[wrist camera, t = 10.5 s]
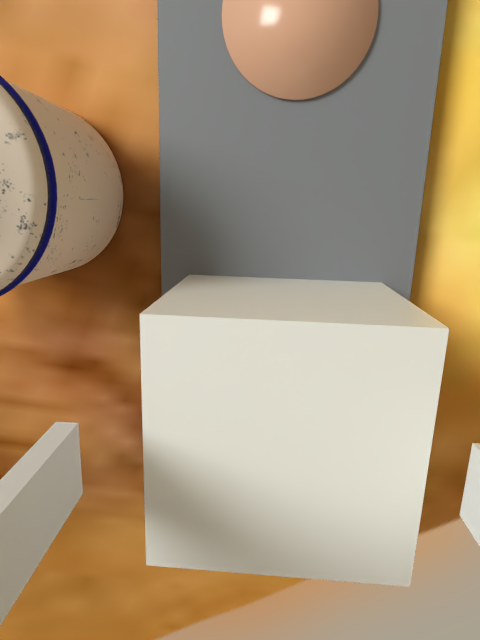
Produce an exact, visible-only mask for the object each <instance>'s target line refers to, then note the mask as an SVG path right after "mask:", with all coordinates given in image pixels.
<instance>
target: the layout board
mask: <svg viewBox="0 0 480 640" xmlns="http://www.w3.org/2000/svg"><path fill="white" fill-rule="evenodd" d="M447 3H448V0H158V71H159V145H160V218H161V291H162V296H163V295H164V294H165V293H167V292H168V291H169V290H170V289H172V288H173V287H174V286H176V285H177V284H178V283H179V282H181V281H182V280H183V279H184V278H186V277H187V276H188V275H209V276H233V277H258V278H282V279H307V280H331V281H356V282H380V283H383V284H385V285H386V286H388V287H389V288H391V289H392V290H394V291H395V292H396V293H398V294H399V295H401V296H402V297H404V298H405V299H407V300H408V301H410V294H411V286H412V279H413V271H414V263H415V255H416V247H417V239H418V231H419V223H420V216H421V208H422V200H423V192H424V184H425V176H426V168H427V160H428V153H429V145H430V137H431V129H432V121H433V113H434V105H435V97H436V89H437V82H438V74H439V66H440V58H441V50H442V42H443V34H444V26H445V19H446V11H447Z"/></svg>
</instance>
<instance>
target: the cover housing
mask: <svg viewBox="0 0 480 640" xmlns="http://www.w3.org/2000/svg"><path fill="white" fill-rule="evenodd" d="M448 334H449V328H448V327H446V326H445V325H443V324H442V323H441V322H439V321H438V320H436V319H435V318H433V317H432V316H430V315H429V314H427V313H426V312H424V311H423V310H421V309H420V308H419V307H417V306H416V305H414V304H413V303H411V302H410V301H408V300H407V299H405V298H404V297H402V296H401V295H399V294H398V293H396V292H395V291H394V290H392V289H391V288H389V287H388V286H386V285H385V284H383V283H380V282H356V281H331V280H307V279H282V278H258V277H233V276H209V275H188V276H187V277H186V278H184V279H183V280H182V281H181V282H179V283H178V284H177V285H176V286H174V287H173V288H172V289H170V290H169V291H168V292H167V293H165V294H164V295H163V296H162V297H160V298H159V299H158V300H157V301H155V302H154V303H153V304H152V305H150V306H149V307H148V308H147V309H145V310H144V311H143V312H142V313H140V348H141V386H142V424H143V462H144V500H145V538H146V565H149V566H161V567H173V568H185V569H197V570H209V571H222V572H234V573H246V574H258V575H270V576H282V577H294V578H307V579H319V580H331V581H343V582H355V583H368V584H379V585H392V586H405V587H410V584H411V578H412V571H413V565H414V558H415V551H416V545H417V538H418V532H419V525H420V518H421V512H422V505H423V499H424V492H425V486H426V479H427V472H428V466H429V459H430V453H431V446H432V439H433V433H434V426H435V420H436V413H437V406H438V400H439V393H440V387H441V380H442V374H443V367H444V360H445V354H446V347H447V341H448Z"/></svg>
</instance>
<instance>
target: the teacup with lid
mask: <svg viewBox="0 0 480 640" xmlns="http://www.w3.org/2000/svg"><path fill="white" fill-rule="evenodd" d="M122 208H123V185H122V179H121V175H120V171H119V167H118V165H117V162H116V160H115V157H114V155H113V153H112V151H111V150H110V148H109V146H108V145H107V143H106V142H105V141H104V139H103V138H102V137H101V135H100V134H99V133H98V132H97V131H96V130H95V129H94V128H93V127H92V126H91V125H90V124H89V123H87V122H86V121H85V120H83V119H82V118H81V117H79V116H77V115H76V114H74V113H72V112H70V111H68V110H66V109H64V108H62V107H60V106H58V105H56V104H54V103H52V102H49V101H47V100H45V99H43V98H41V97H39V96H37V95H35V94H33V93H31V92H29V91H26V90H24V89H22V88H20V87H18V86H16V85H14V84H12V83H10V82H8V81H6V80H4V79H3V78H2V77H1V76H0V296H1V295H4V294H5V293H7V292H8V291H10V290H12V289H13V288H15V287H16V286H18V285H21V284H25V283H28V282H31V281H34V280H38V279H41V278H44V277H48V276H51V275H54V274H58V273H61V272H64V271H67V270H71V269H74V268H77V267H79V266H81V265H84V264H86V263H87V262H89V261H91V260H92V259H93V258H95V257H96V256H97V255H98V254H100V253H101V252H102V251H103V250H104V248H105V247H106V246H107V245H108V244H109V242H110V241H111V239H112V237H113V236H114V234H115V232H116V230H117V227H118V225H119V221H120V218H121V214H122Z"/></svg>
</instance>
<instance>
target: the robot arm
mask: <svg viewBox="0 0 480 640" xmlns="http://www.w3.org/2000/svg"><path fill="white" fill-rule="evenodd" d="M82 494H83V487H82V472H81V457H80V442H79V427H78V423H72V422H55V423H54V424H53V425H52V426H51V427H50V429H49V430H48V431H47V432H46V433H45V434H44V435H43V436H42V437H41V438H40V439H39V440H38V441H37V442H36V443H35V444H34V445H33V446H32V447H31V448H30V449H29V450H28V451H27V453H26V454H25V455H24V456H23V457H22V458H21V459H20V460H19V461H18V462H17V463H16V464H15V465H14V466H13V467H12V468H11V469H10V470H9V471H8V472H7V473H6V474H5V475H4V477H3V478H2V479H1V480H0V625H1V624H2V622H3V621H4V619H5V617H6V616H7V614H8V613H9V611H10V609H11V608H12V606H13V605H14V603H15V601H16V600H17V598H18V597H19V595H20V593H21V592H22V590H23V589H24V587H25V585H26V584H27V582H28V581H29V579H30V577H31V576H32V574H33V573H34V571H35V569H36V568H37V566H38V565H39V563H40V561H41V560H42V558H43V557H44V555H45V553H46V552H47V550H48V549H49V547H50V545H51V544H52V542H53V541H54V539H55V537H56V536H57V534H58V533H59V531H60V529H61V528H62V526H63V525H64V523H65V521H66V520H67V518H68V517H69V515H70V513H71V512H72V510H73V509H74V507H75V505H76V504H77V502H78V501H79V499H80V497H81V496H82ZM460 517H461V518H462V520H463V521H464V523H465V525H466V526H467V528H468V529H469V531H470V532H471V534H472V536H473V537H474V539H475V540H476V542H477V543H478V545H479V546H480V443H472V448H471V454H470V459H469V465H468V471H467V476H466V482H465V487H464V493H463V499H462V504H461V510H460Z"/></svg>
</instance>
